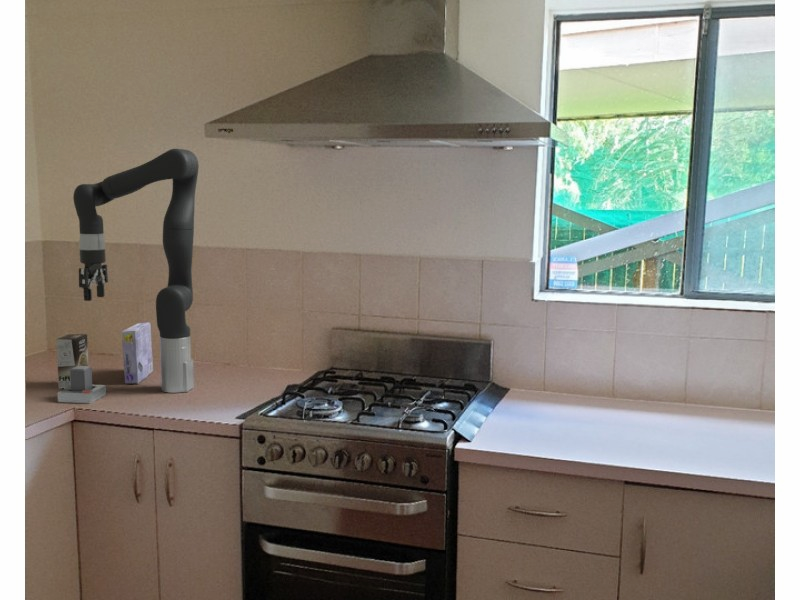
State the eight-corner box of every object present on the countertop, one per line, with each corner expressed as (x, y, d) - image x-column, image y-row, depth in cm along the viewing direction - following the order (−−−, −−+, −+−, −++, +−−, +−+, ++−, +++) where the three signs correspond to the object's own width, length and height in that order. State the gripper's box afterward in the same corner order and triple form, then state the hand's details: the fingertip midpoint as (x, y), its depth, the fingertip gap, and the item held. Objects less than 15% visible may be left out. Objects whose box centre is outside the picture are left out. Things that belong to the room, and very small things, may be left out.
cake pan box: (140, 370, 268) (138, 320, 266) (154, 370, 269) (153, 321, 266) (122, 384, 249) (120, 331, 247) (138, 384, 250) (136, 331, 247)
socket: (106, 394, 237) (105, 382, 237) (90, 403, 227) (89, 391, 227) (75, 393, 238) (74, 381, 238) (57, 402, 228) (57, 390, 228)
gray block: (78, 396, 235) (77, 365, 234) (92, 396, 235) (91, 365, 233) (71, 399, 231) (70, 368, 229) (85, 400, 230) (84, 369, 229)
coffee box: (78, 389, 243) (75, 339, 241) (57, 388, 243) (55, 338, 241) (90, 382, 252) (88, 333, 250) (70, 381, 252) (68, 333, 250)
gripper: (92, 250, 235) (95, 302, 237) (114, 246, 249) (116, 296, 251) (69, 249, 236) (71, 301, 238) (91, 246, 250) (94, 295, 252)
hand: (94, 298), depth 245 cm, fingers open, 8 cm apart
